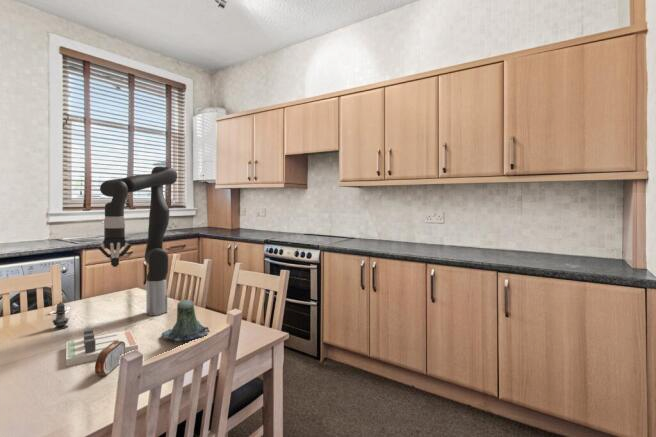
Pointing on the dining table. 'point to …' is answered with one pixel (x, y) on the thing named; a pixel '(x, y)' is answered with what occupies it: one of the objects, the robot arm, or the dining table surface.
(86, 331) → the block
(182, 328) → the green bell-shaped piece
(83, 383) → the dining table surface
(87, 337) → the block
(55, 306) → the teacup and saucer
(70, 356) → the board
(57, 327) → the grey chess pawn
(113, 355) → the tin
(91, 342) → the block
